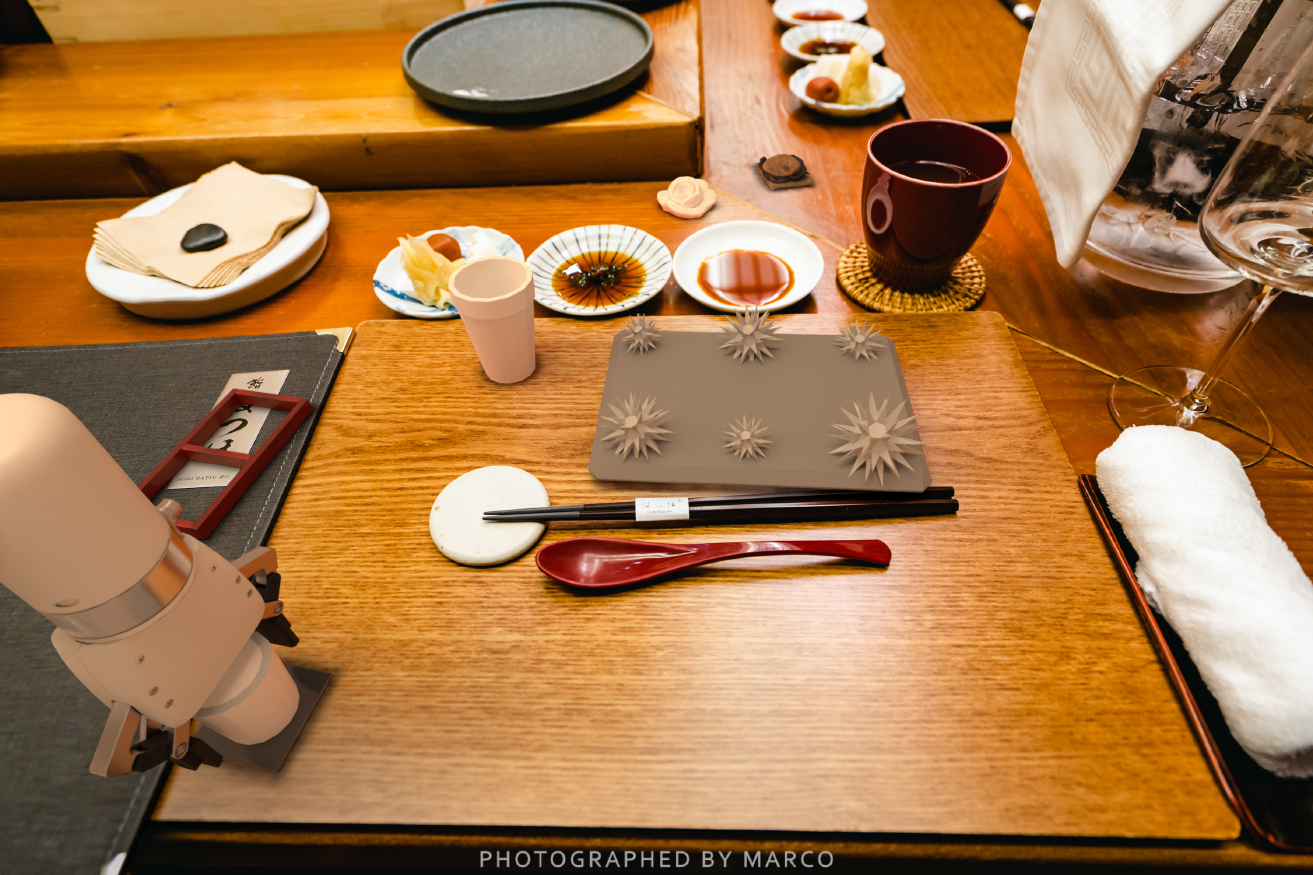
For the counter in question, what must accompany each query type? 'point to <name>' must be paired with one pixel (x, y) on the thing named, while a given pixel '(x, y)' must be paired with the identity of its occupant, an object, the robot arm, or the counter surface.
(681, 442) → the decorative tray
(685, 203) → the rose
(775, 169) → the chocolate cookie
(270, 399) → the frame
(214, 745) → the slate mat
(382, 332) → the counter surface
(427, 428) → the counter surface
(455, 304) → the foam cup
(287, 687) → the pink candle cup
